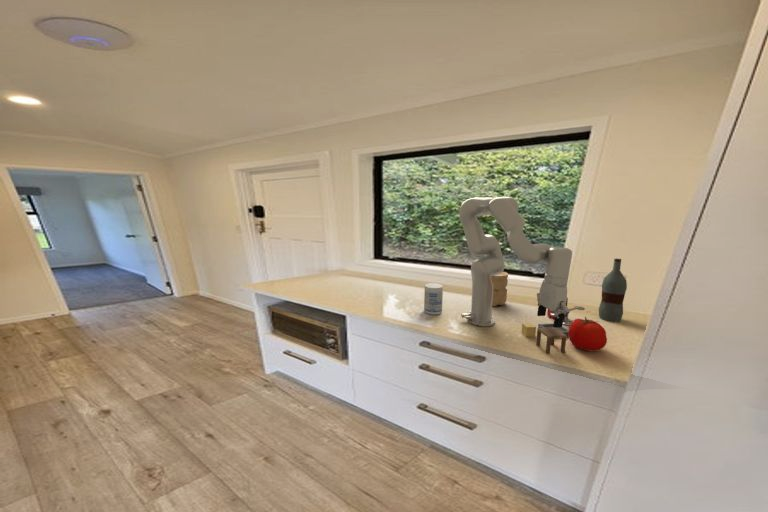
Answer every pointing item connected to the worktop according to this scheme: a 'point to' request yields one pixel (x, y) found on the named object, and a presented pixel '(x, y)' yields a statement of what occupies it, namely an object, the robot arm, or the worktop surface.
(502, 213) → the robot arm
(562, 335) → the small wooden table
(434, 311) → the supplement tub
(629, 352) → the worktop surface
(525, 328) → the block
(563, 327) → the dish
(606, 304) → the bottle
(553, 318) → the canned food
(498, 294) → the container
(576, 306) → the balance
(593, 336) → the tomato
